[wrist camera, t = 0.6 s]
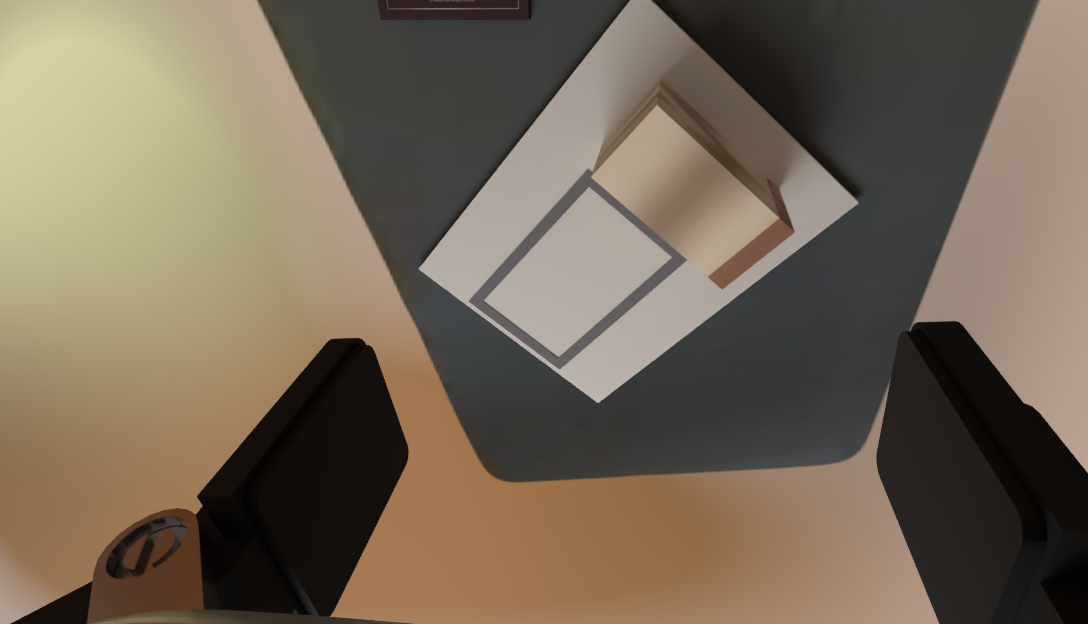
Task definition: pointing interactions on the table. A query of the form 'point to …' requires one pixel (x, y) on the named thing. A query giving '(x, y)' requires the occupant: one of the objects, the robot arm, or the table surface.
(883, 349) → the table surface
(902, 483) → the robot arm
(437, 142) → the table surface
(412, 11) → the chocolate bar
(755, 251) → the block
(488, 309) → the mat
